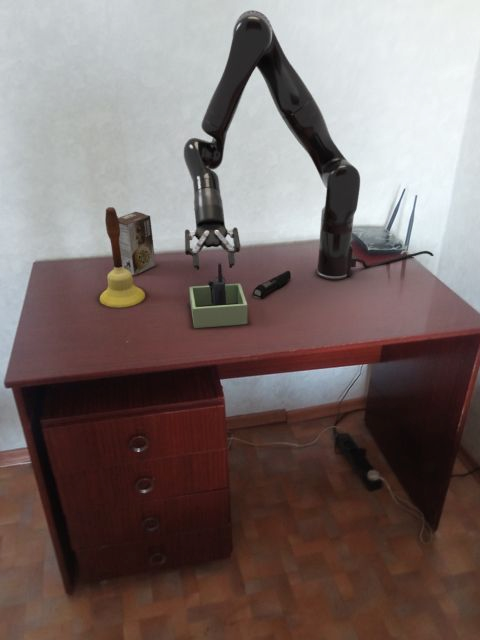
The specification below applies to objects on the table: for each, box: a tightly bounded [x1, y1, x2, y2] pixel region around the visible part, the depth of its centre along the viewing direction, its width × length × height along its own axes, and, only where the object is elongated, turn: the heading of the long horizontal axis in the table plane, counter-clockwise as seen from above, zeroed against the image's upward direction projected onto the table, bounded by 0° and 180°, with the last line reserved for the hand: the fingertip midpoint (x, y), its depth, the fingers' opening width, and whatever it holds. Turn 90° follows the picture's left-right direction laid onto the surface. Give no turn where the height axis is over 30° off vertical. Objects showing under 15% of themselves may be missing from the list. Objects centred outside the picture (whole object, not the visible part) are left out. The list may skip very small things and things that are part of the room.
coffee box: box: [118, 211, 156, 276], centre depth 164 cm, size 9×6×16 cm
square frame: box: [188, 283, 248, 329], centre depth 143 cm, size 14×13×6 cm
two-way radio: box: [207, 262, 227, 306], centre depth 140 cm, size 6×4×15 cm
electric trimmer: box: [252, 270, 292, 299], centre depth 157 cm, size 4×16×3 cm, turn 143°
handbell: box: [99, 206, 146, 308], centre depth 145 cm, size 12×12×25 cm
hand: (214, 267), depth 141 cm, fingers open, 8 cm apart
